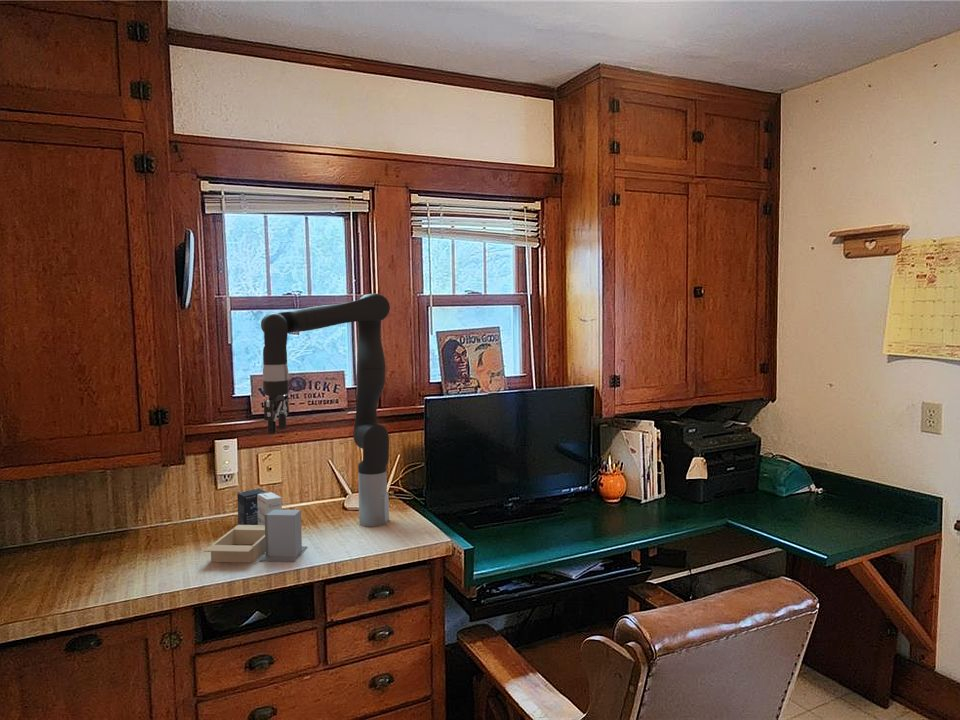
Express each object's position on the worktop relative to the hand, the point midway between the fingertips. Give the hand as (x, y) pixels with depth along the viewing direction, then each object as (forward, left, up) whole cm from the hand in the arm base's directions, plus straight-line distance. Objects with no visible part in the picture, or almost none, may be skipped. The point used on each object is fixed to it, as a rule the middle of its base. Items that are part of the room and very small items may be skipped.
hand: (277, 431), depth 203 cm
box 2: (-6, +15, -33) cm, 37 cm away
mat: (-6, +15, -33) cm, 37 cm away
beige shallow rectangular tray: (+6, +14, -33) cm, 36 cm away
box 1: (+14, -12, -33) cm, 38 cm away
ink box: (+5, -4, -33) cm, 34 cm away
